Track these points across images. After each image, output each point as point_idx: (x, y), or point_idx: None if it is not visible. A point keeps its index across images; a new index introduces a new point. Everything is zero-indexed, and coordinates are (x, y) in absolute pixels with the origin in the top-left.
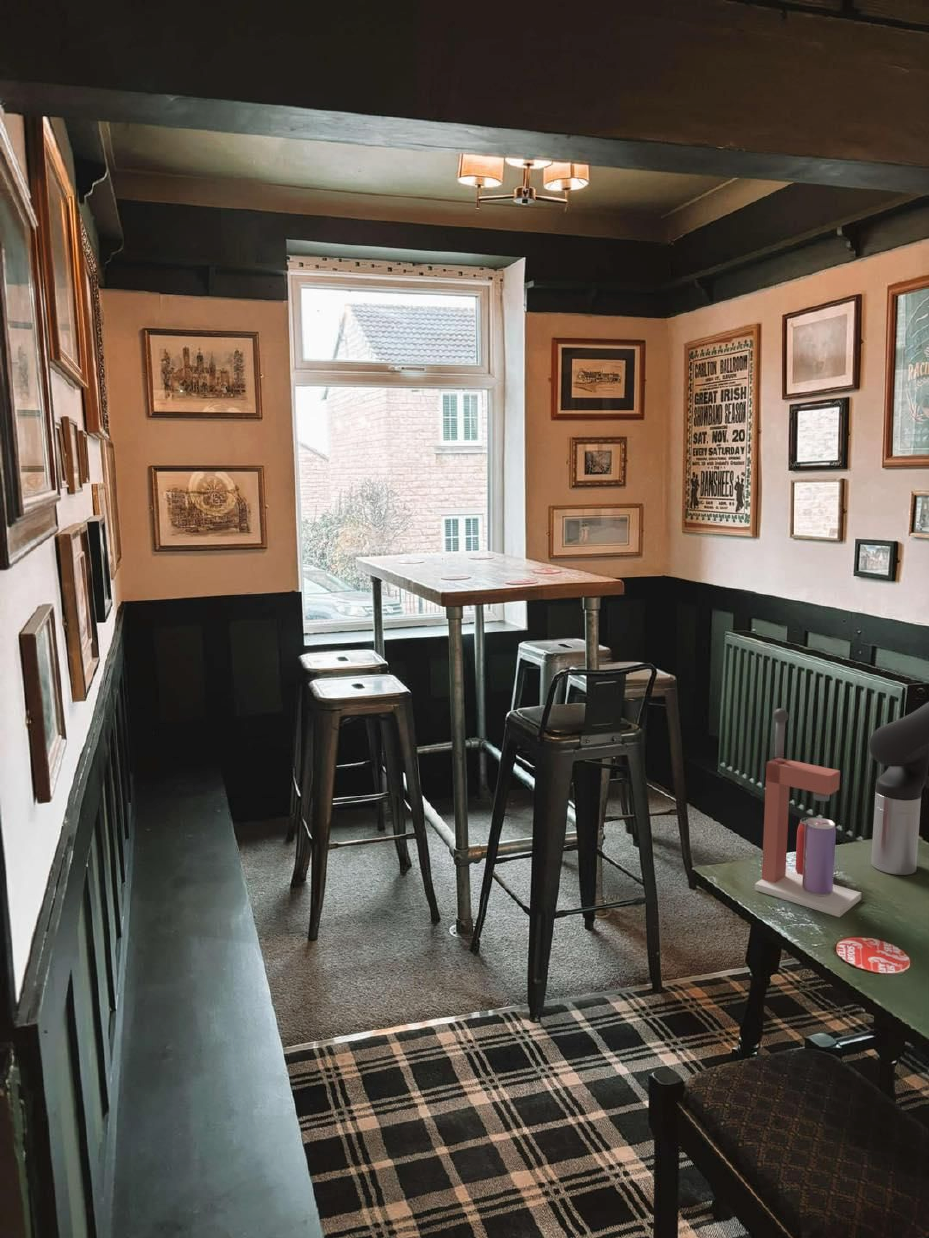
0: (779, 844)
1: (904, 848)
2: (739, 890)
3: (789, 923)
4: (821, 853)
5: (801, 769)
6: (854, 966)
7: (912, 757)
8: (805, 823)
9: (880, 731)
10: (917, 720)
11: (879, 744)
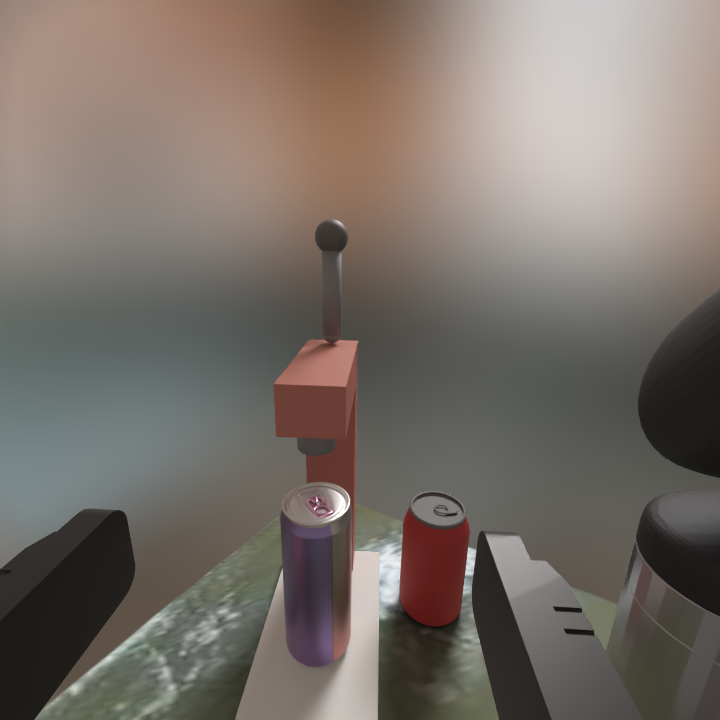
0: None
1: None
2: (275, 542)
3: (162, 649)
4: (284, 568)
5: (298, 359)
6: None
7: None
8: (423, 501)
9: (669, 333)
10: None
11: (648, 377)
